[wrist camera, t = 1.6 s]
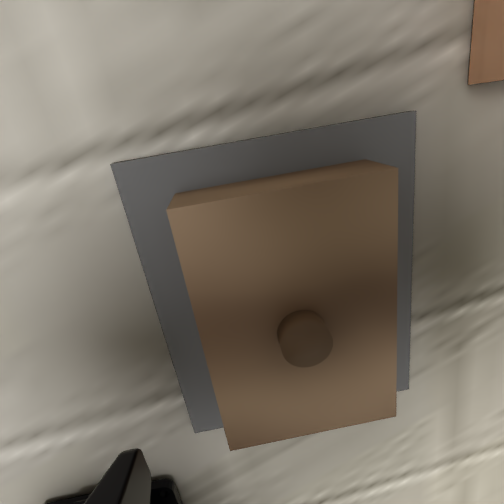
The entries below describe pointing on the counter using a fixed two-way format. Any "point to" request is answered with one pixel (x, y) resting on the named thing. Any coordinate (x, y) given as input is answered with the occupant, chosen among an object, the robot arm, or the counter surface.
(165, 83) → the counter surface
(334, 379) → the lid
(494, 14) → the dish
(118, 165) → the mat
